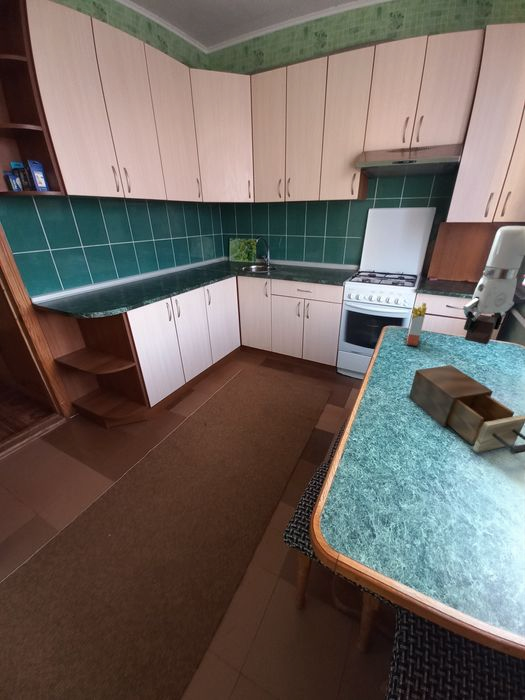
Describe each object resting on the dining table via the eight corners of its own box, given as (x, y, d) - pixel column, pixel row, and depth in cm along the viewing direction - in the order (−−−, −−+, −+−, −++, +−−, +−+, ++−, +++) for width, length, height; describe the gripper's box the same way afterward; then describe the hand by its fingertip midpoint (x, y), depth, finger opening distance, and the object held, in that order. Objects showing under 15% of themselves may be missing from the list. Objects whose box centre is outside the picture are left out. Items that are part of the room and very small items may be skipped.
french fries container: (404, 347, 126) (413, 307, 117) (406, 337, 134) (414, 300, 126) (416, 349, 124) (426, 309, 116) (417, 339, 132) (426, 301, 124)
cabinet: (480, 421, 83) (493, 391, 79) (442, 428, 81) (453, 397, 76) (441, 392, 96) (450, 364, 91) (408, 398, 94) (415, 369, 89)
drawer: (538, 462, 69) (554, 434, 65) (498, 472, 67) (513, 443, 63) (469, 411, 86) (479, 387, 82) (436, 417, 84) (444, 392, 80)
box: (486, 345, 88) (494, 322, 85) (463, 340, 92) (470, 318, 89) (490, 339, 92) (498, 317, 89) (468, 334, 96) (475, 313, 92)
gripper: (485, 278, 78) (466, 337, 86) (538, 273, 81) (515, 331, 89) (463, 272, 84) (447, 327, 92) (513, 268, 87) (493, 322, 95)
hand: (480, 329), depth 90 cm, fingers closed on box, 8 cm apart
